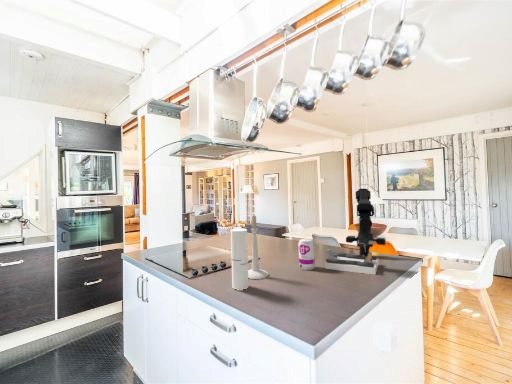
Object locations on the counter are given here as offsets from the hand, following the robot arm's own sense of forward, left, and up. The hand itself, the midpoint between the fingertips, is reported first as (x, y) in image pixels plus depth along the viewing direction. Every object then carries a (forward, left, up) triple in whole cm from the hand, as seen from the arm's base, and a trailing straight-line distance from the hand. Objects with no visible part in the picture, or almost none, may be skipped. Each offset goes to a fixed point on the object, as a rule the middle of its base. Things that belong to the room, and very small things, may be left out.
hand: (365, 256), depth 135 cm
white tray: (0, -7, -6) cm, 9 cm away
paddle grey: (0, -17, -2) cm, 17 cm away
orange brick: (0, +1, -2) cm, 2 cm away
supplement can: (+12, -28, -6) cm, 31 cm away
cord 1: (+7, -7, -3) cm, 10 cm away
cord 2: (-7, -7, -3) cm, 10 cm away
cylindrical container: (+51, -45, -6) cm, 68 cm away
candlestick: (+34, -47, -6) cm, 58 cm away
